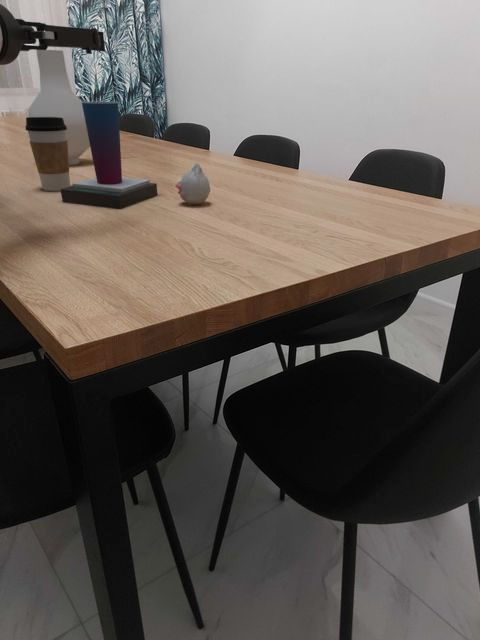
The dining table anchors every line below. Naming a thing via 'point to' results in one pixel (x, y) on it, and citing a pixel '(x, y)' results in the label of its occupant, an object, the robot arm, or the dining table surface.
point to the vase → (60, 102)
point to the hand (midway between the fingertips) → (64, 41)
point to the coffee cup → (50, 151)
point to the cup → (104, 140)
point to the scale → (109, 192)
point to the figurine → (194, 186)
